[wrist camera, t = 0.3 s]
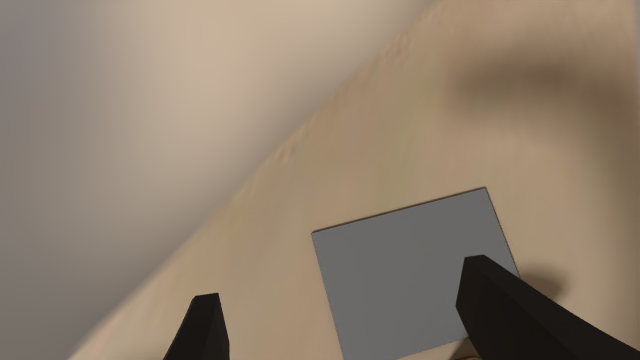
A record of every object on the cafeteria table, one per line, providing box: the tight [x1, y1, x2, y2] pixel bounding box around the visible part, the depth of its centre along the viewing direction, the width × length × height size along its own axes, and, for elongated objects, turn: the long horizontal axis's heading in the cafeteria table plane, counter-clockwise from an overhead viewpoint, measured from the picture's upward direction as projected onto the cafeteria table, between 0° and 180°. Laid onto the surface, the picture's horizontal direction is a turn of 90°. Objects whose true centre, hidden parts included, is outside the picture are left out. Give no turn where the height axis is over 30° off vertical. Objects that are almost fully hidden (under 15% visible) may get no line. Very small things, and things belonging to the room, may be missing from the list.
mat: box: [311, 188, 519, 360], centre depth 41 cm, size 14×20×1 cm
